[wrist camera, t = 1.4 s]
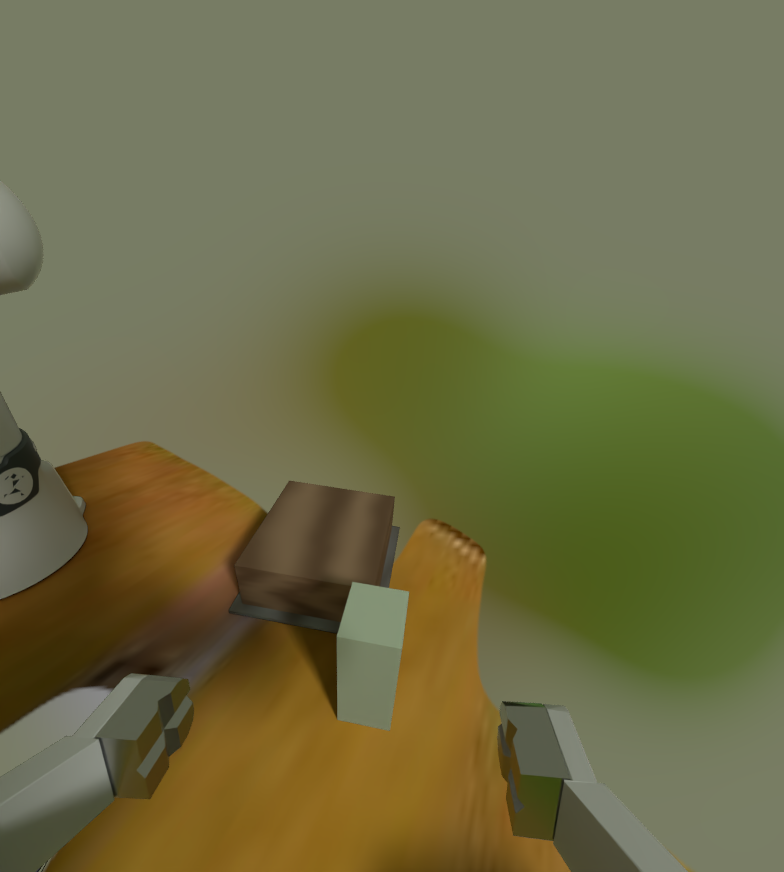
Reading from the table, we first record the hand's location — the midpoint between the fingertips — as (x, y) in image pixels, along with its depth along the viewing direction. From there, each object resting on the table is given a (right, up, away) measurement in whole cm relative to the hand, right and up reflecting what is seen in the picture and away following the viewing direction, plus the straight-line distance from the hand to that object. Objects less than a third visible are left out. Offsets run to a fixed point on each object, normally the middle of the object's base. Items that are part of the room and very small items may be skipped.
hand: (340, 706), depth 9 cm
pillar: (-1, -16, +23) cm, 28 cm away
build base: (-7, -9, +35) cm, 37 cm away
